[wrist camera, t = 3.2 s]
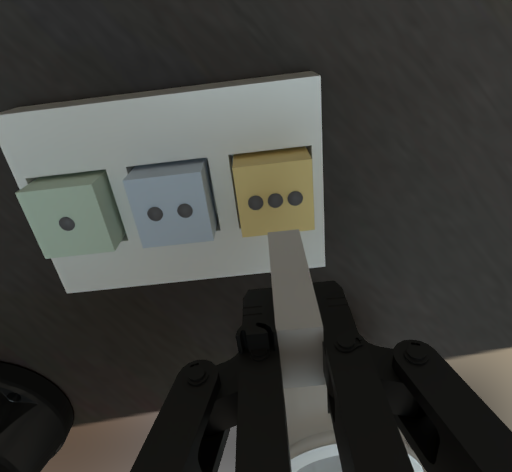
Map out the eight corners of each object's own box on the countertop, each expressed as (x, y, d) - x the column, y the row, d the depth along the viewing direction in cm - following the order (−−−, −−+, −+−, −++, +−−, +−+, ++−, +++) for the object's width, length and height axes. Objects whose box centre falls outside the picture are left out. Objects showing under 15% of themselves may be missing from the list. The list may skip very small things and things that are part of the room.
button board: (83, 269, 33) (67, 293, 30) (17, 107, 26) (-14, 116, 23) (317, 244, 32) (325, 266, 29) (311, 70, 25) (320, 75, 22)
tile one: (64, 238, 28) (44, 259, 26) (38, 177, 26) (14, 193, 23) (127, 231, 28) (114, 252, 25) (107, 169, 26) (90, 184, 23)
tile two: (152, 228, 28) (142, 249, 25) (135, 166, 26) (122, 181, 23) (216, 221, 28) (213, 241, 25) (205, 157, 25) (200, 172, 23)
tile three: (242, 218, 28) (242, 238, 25) (233, 154, 25) (232, 168, 23) (308, 211, 28) (315, 230, 25) (305, 146, 25) (312, 159, 23)
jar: (252, 295, 34) (256, 454, 21) (362, 281, 34) (434, 436, 21) (266, 372, 40) (275, 539, 26) (362, 361, 39) (420, 526, 26)
